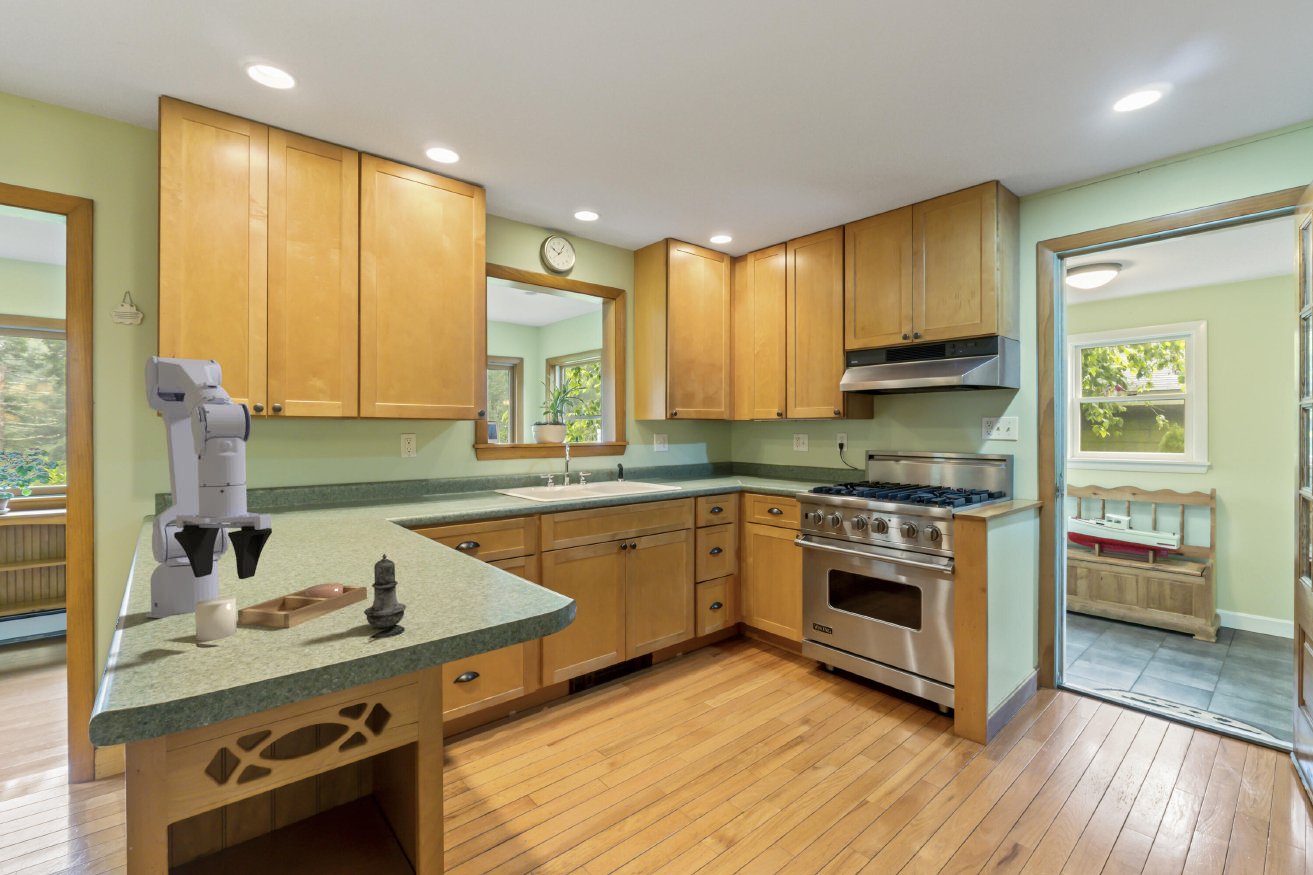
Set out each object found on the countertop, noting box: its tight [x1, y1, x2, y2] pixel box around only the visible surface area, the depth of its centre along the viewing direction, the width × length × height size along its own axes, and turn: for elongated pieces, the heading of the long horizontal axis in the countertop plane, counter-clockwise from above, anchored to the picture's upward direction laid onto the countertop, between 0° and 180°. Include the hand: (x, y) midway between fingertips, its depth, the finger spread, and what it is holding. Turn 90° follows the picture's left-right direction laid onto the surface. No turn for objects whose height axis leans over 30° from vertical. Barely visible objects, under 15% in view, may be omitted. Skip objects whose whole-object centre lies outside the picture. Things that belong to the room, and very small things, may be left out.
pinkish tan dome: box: [305, 582, 344, 599], centre depth 102 cm, size 6×6×3 cm
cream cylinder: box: [194, 596, 238, 649], centre depth 87 cm, size 5×5×6 cm
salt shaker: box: [363, 553, 407, 639], centre depth 90 cm, size 6×6×12 cm
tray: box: [237, 585, 368, 629], centre depth 98 cm, size 10×16×3 cm, turn 165°
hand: (224, 576), depth 87 cm, fingers open, 7 cm apart
